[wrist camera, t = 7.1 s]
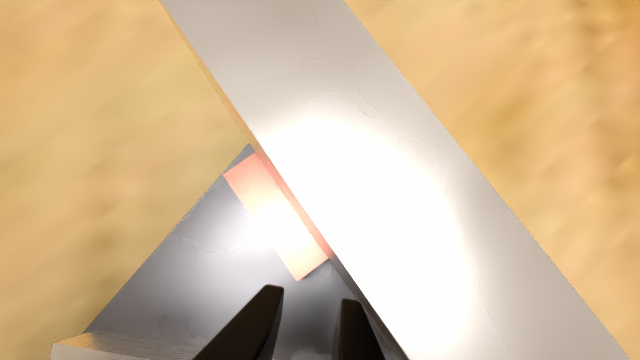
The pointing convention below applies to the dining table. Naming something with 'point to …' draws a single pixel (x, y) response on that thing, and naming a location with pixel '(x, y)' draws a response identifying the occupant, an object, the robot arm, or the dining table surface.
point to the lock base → (223, 279)
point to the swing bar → (386, 186)
